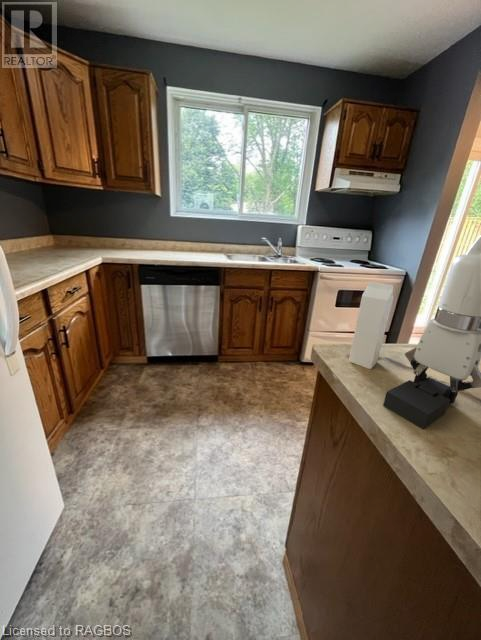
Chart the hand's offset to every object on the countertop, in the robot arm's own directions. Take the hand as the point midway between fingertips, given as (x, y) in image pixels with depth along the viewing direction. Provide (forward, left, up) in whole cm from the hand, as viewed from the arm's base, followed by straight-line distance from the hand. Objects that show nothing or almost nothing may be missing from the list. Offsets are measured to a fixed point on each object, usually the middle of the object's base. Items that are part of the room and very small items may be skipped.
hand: (431, 396), depth 59 cm
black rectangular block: (0, 0, -1) cm, 1 cm away
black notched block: (+7, 0, -1) cm, 7 cm away
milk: (-2, -18, -1) cm, 18 cm away
